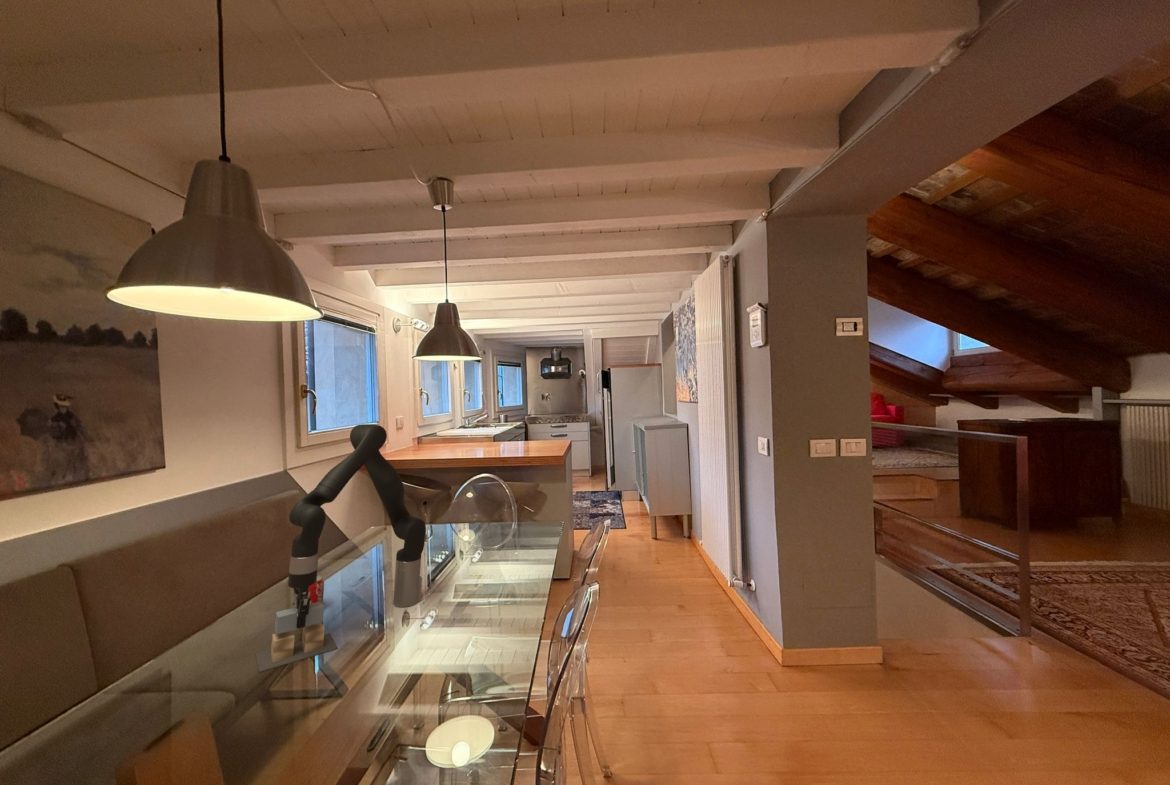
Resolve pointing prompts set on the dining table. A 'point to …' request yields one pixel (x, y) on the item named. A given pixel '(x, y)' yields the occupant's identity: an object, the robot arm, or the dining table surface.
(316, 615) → the lintel
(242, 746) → the dining table surface
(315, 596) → the soda can
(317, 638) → the pillar
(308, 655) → the mat
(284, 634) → the pillar
